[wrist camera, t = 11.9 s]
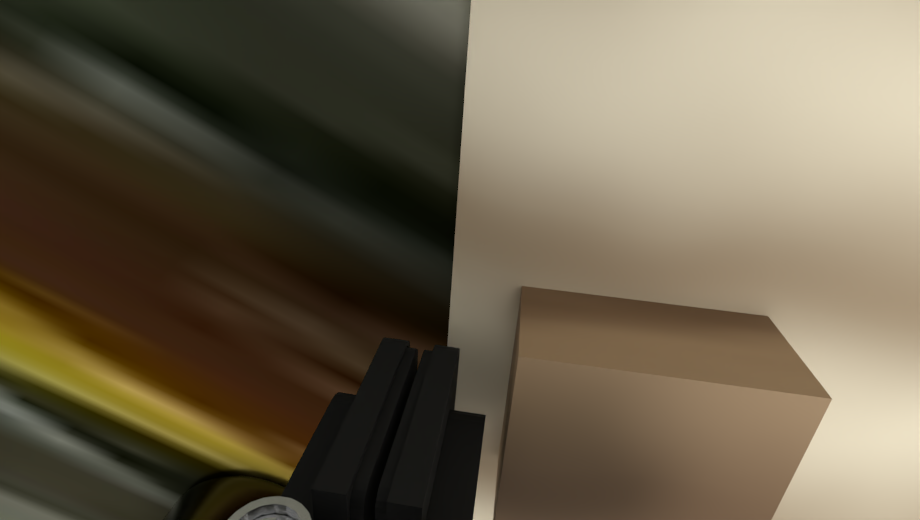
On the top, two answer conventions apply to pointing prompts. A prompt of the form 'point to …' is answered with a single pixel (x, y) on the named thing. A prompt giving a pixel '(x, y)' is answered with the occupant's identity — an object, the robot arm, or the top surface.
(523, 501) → the walnut tile
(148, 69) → the top surface
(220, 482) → the supplement bottle
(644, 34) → the maple board
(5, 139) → the top surface
